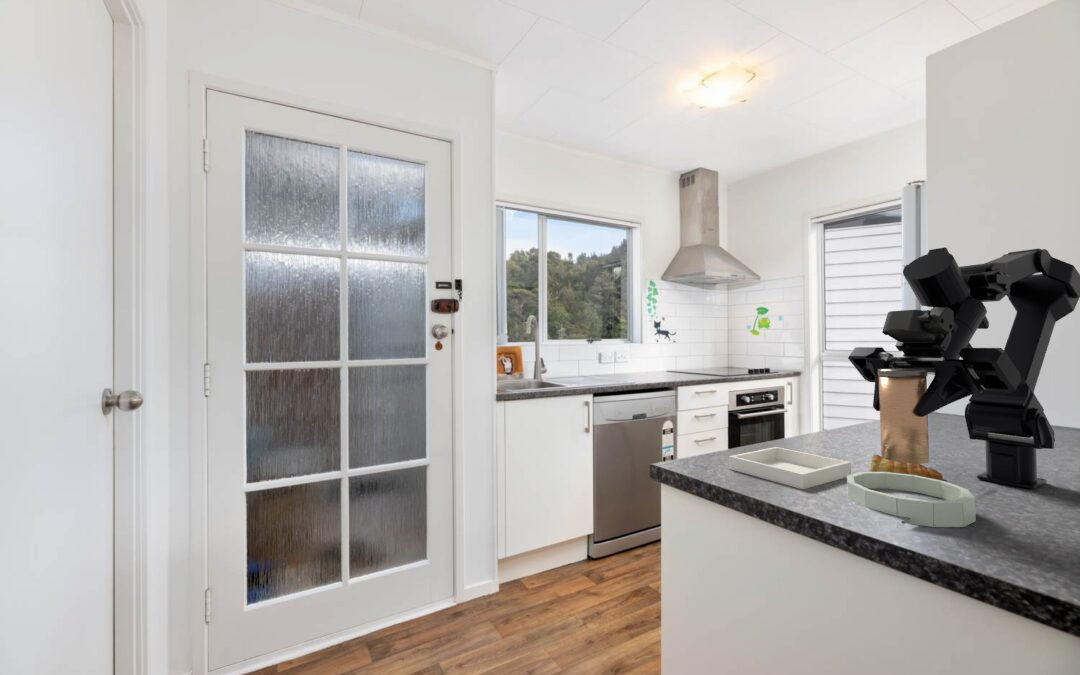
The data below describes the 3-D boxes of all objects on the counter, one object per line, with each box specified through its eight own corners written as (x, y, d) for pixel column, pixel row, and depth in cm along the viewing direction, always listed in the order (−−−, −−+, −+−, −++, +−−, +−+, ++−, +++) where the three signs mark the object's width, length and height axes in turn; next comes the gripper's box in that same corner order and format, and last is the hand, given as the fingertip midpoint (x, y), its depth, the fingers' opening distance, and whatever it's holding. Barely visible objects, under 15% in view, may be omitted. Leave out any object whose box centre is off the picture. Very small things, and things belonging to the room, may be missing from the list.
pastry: (942, 481, 75) (942, 458, 75) (943, 493, 69) (942, 468, 69) (872, 471, 81) (871, 450, 81) (867, 481, 76) (866, 458, 76)
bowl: (876, 486, 72) (876, 467, 72) (991, 513, 60) (990, 490, 60) (828, 501, 66) (827, 480, 66) (945, 535, 54) (945, 510, 54)
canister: (880, 452, 67) (877, 368, 67) (928, 456, 64) (925, 368, 64) (880, 460, 63) (877, 370, 63) (932, 465, 59) (929, 371, 59)
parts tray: (776, 462, 87) (776, 446, 87) (851, 480, 75) (850, 462, 75) (729, 473, 80) (728, 456, 80) (803, 494, 69) (802, 474, 69)
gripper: (854, 297, 73) (804, 368, 70) (1003, 281, 56) (946, 376, 52) (890, 344, 76) (843, 416, 72) (1044, 344, 58) (992, 439, 55)
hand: (896, 411), depth 63 cm, fingers closed on canister, 5 cm apart
